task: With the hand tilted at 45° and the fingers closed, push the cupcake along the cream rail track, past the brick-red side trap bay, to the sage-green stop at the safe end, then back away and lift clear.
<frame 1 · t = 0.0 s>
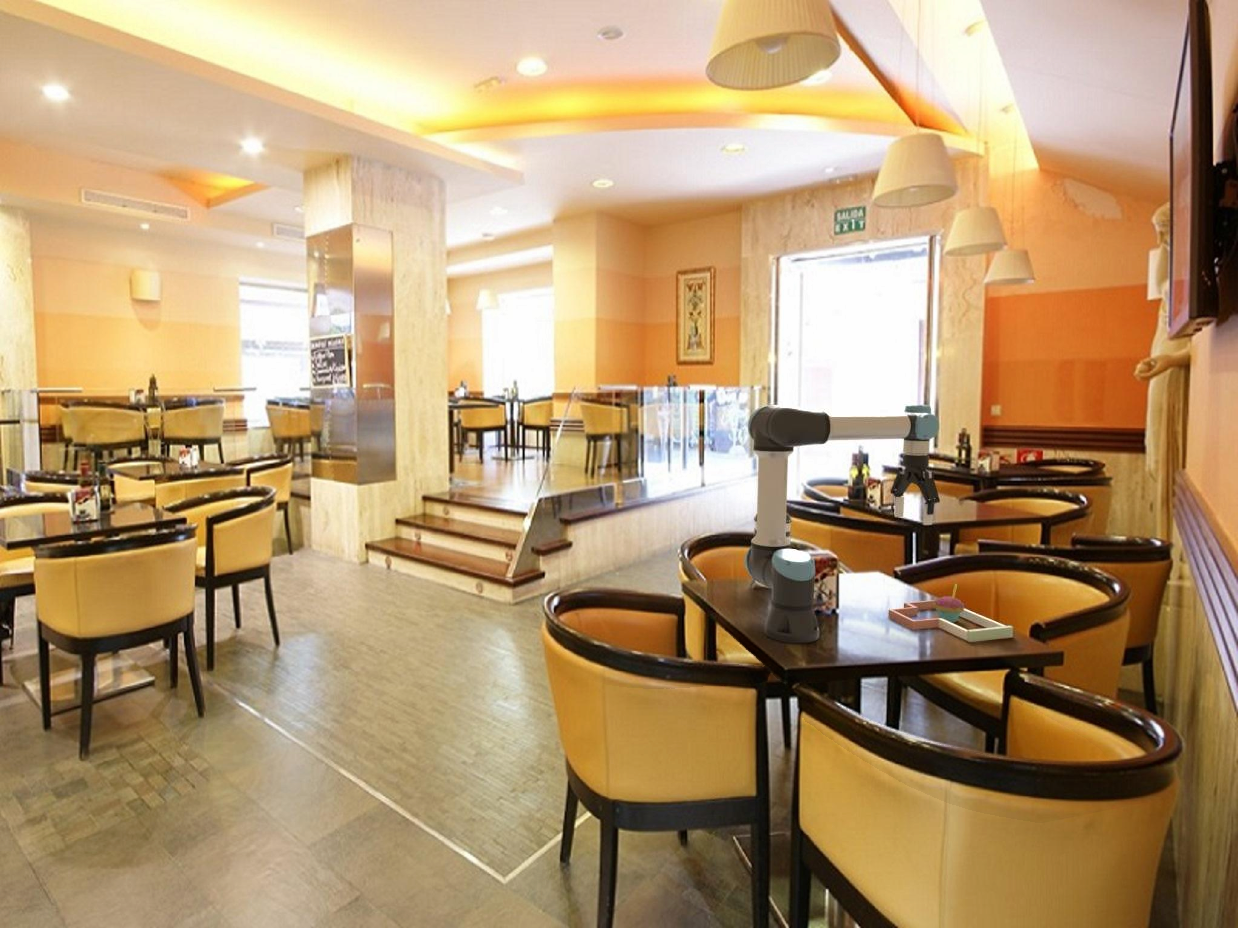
hand: (912, 520, 219), 28 cm above the table, tool pointing down, fingers open, 13 cm apart
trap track: (954, 623, 206), on the table
coffee press: (770, 589, 241), on the table
cupcake: (947, 620, 209), resting in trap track
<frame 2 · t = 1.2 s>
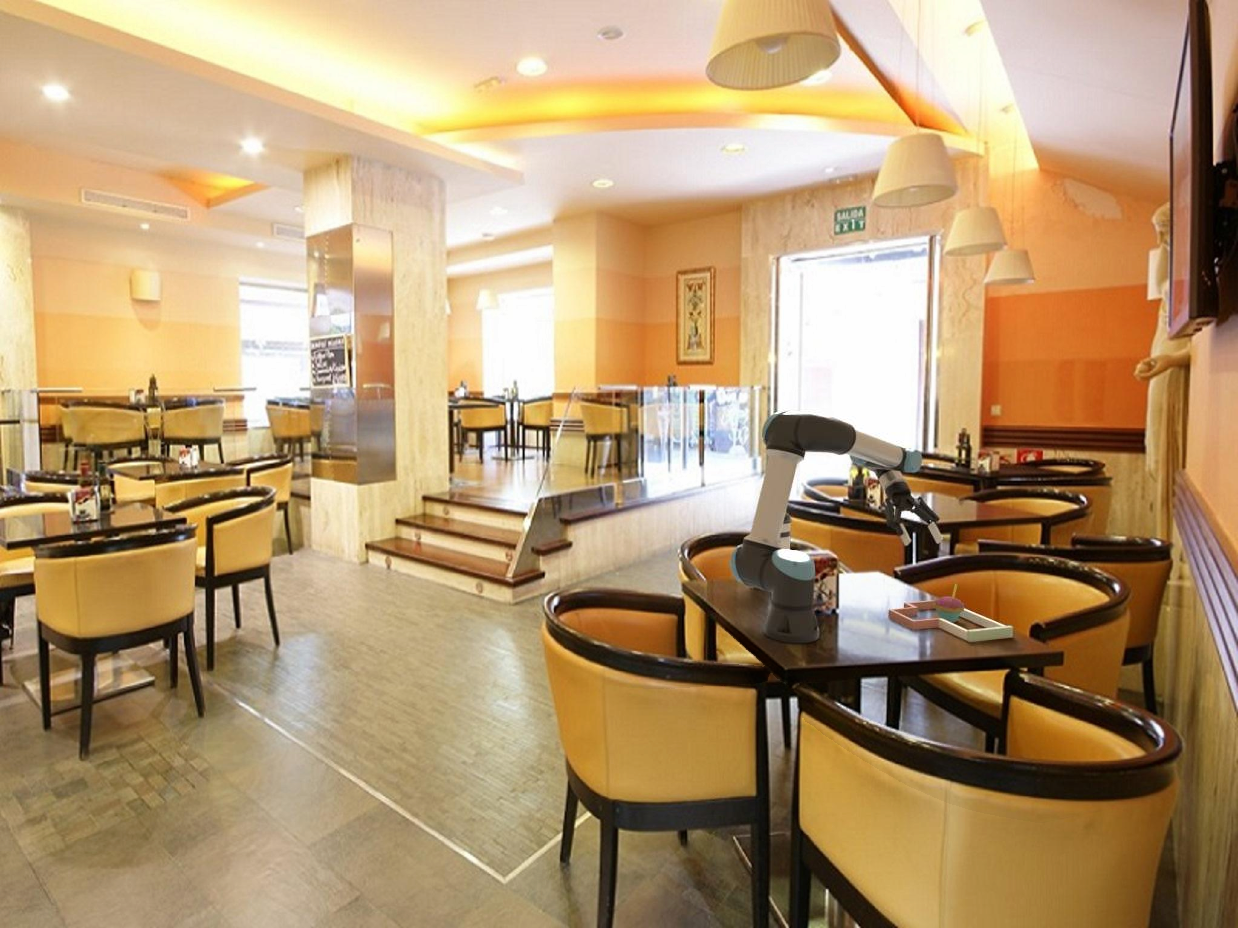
hand: (924, 542, 218), 21 cm above the table, tool tilted 45°, fingers open, 11 cm apart
nothing on the table moved.
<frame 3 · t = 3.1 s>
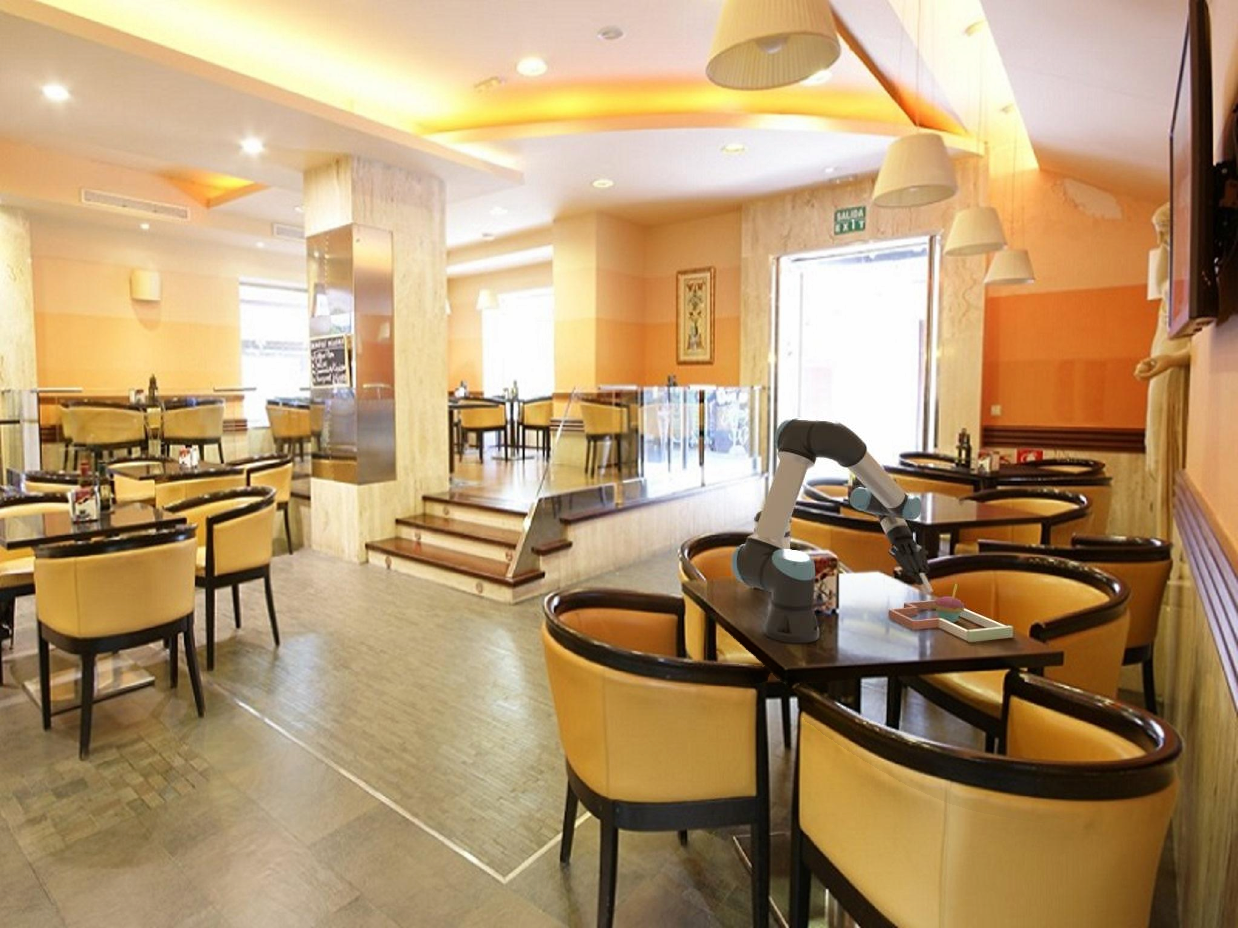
hand: (928, 593, 217), 6 cm above the table, tool tilted 45°, fingers closed
nothing on the table moved.
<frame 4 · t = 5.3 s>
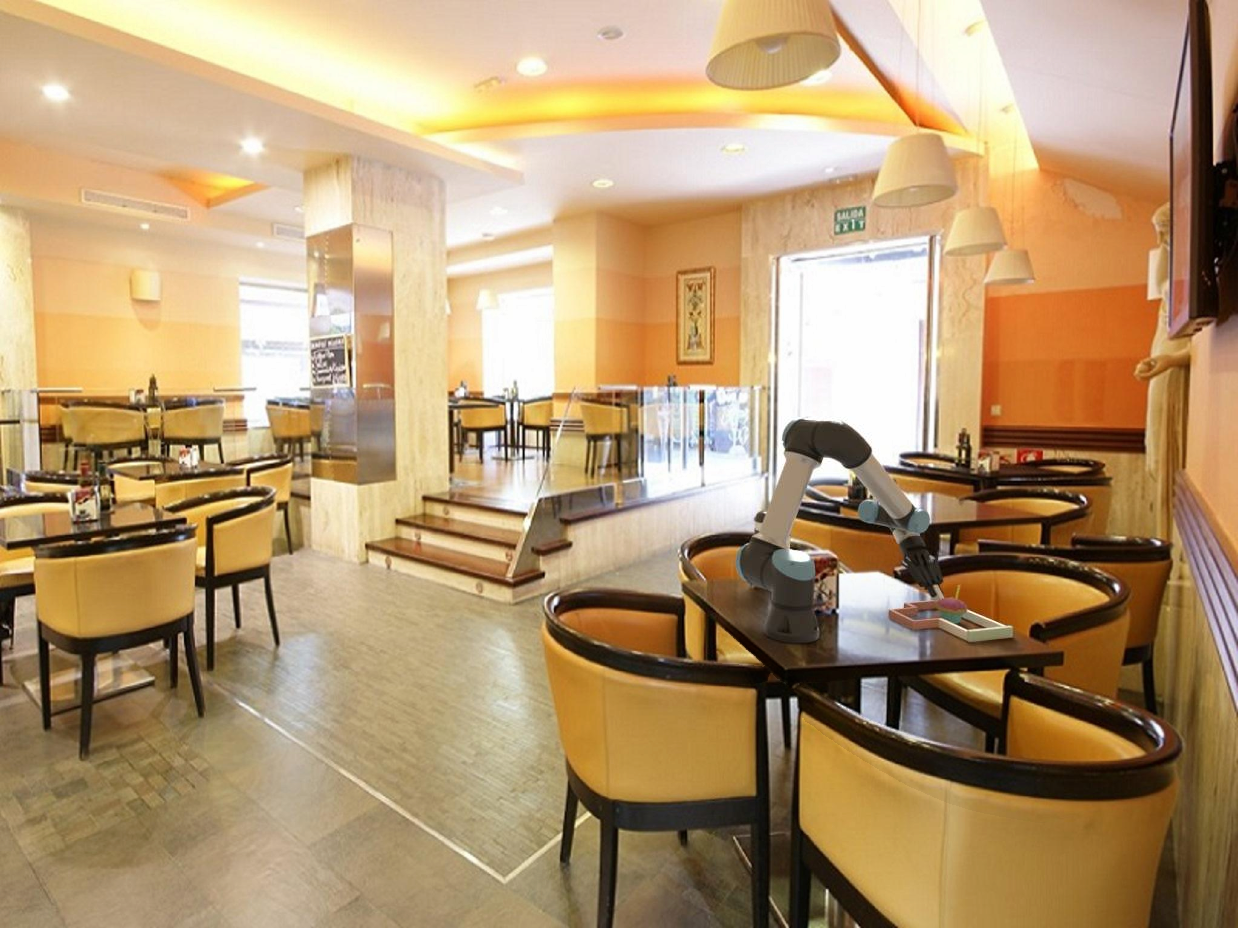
hand: (942, 605, 212), 3 cm above the table, tool tilted 45°, fingers closed
cupcake: (950, 621, 208), resting in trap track, touching gripper
everything else where it was.
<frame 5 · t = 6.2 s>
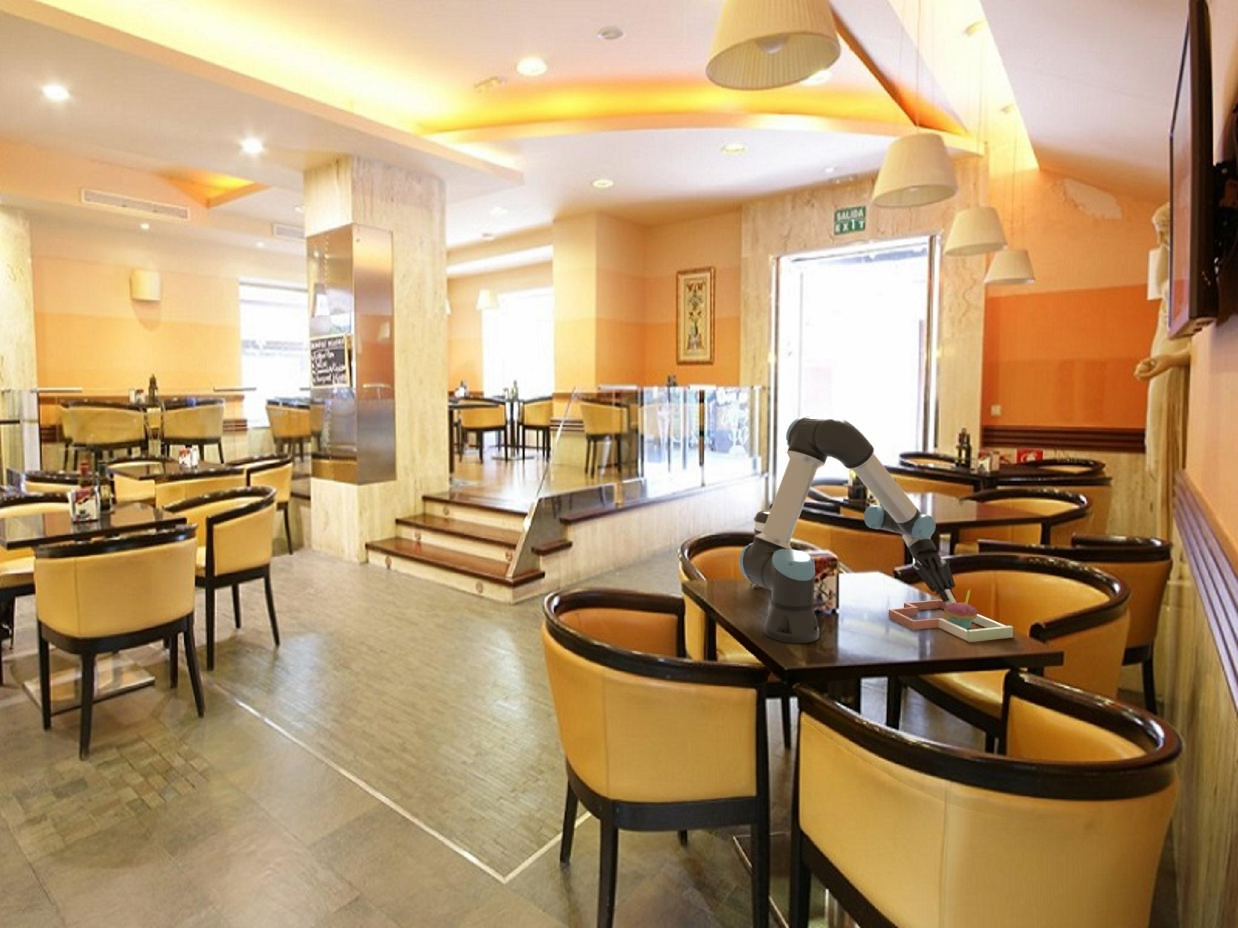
hand: (955, 610, 207), 3 cm above the table, tool tilted 45°, fingers closed
cupcake: (959, 627, 203), resting in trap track, touching gripper
everything else where it was.
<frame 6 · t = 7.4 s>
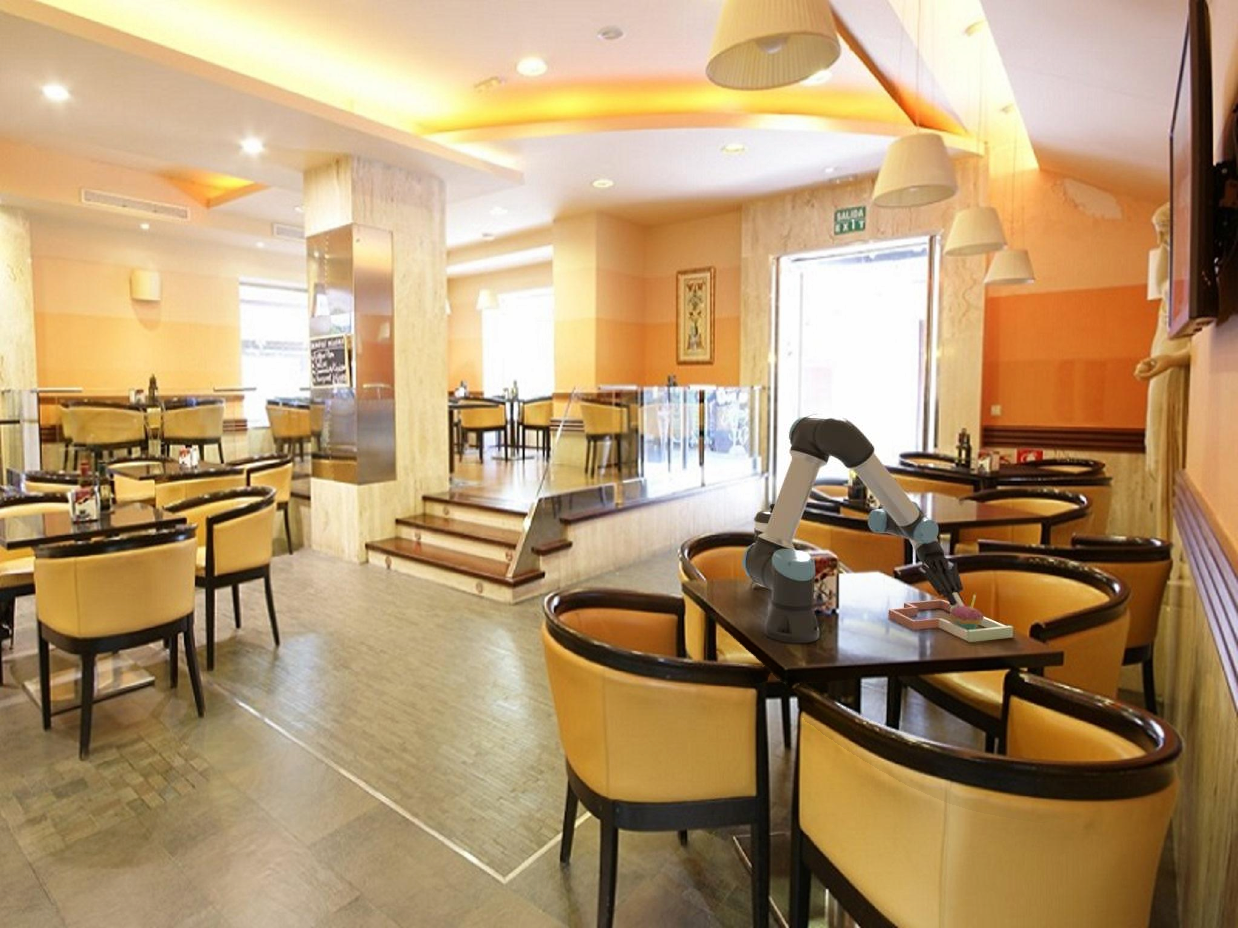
hand: (963, 614, 203), 4 cm above the table, tool tilted 45°, fingers closed
cupcake: (965, 631, 199), resting in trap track, touching gripper
everything else where it was.
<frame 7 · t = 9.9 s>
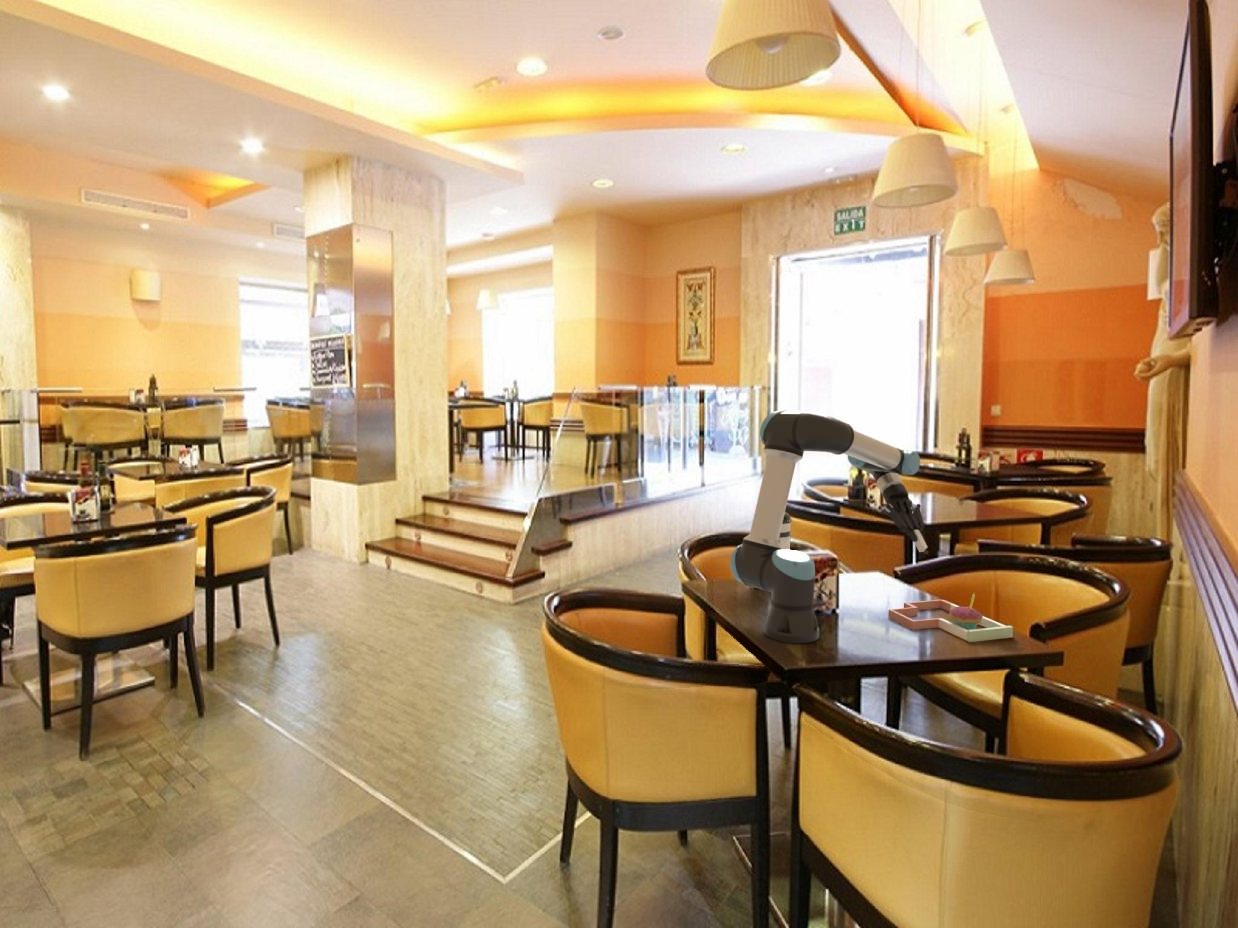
hand: (923, 549, 216), 20 cm above the table, tool tilted 45°, fingers closed
cupcake: (964, 631, 200), resting in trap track
everything else where it was.
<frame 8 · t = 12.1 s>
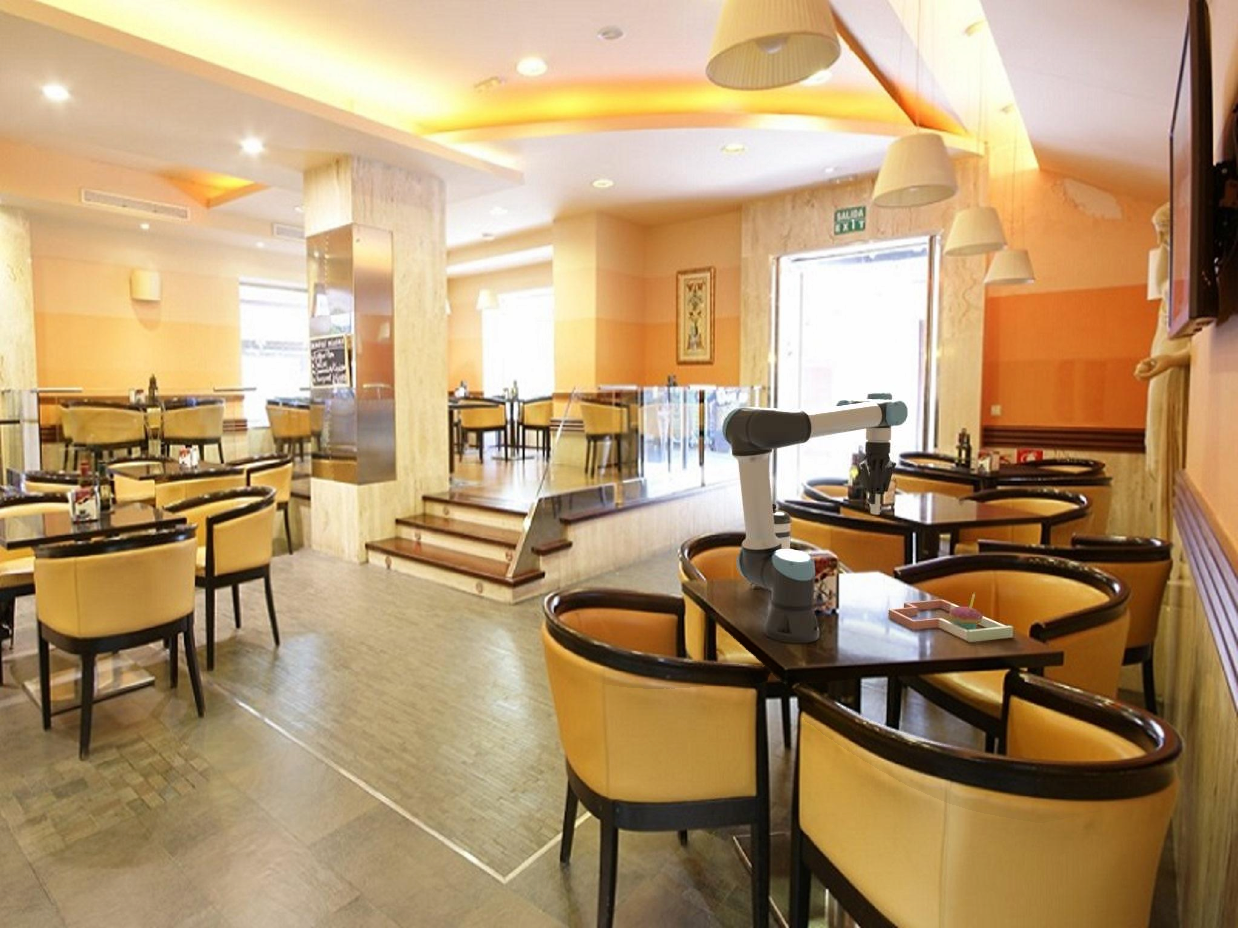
hand: (874, 513, 223), 29 cm above the table, tool pointing down, fingers closed
nothing on the table moved.
at the end: cupcake inside the target area (2.4 cm from its centre), resting in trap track; cupcake tilted 0° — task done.
